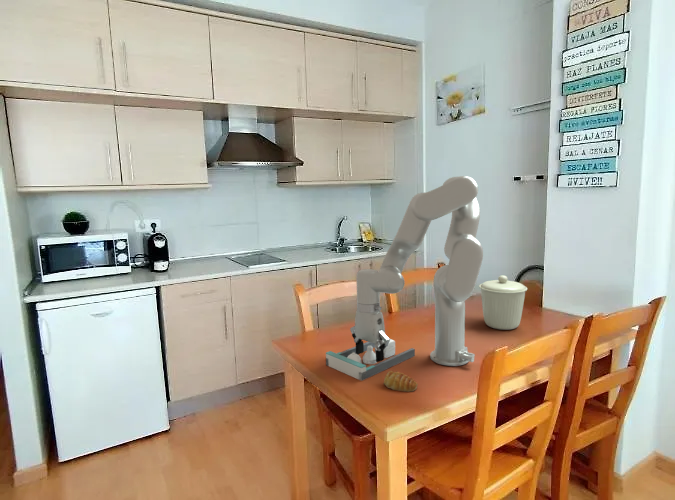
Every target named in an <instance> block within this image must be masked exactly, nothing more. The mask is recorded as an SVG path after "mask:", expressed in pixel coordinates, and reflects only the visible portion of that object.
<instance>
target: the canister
mask: <svg viewBox="0 0 675 500" xmlns="http://www.w3.org/2000/svg"><path fill="white" fill-rule="evenodd" d="M478 287H479V289H480V295H481V307H482V315H483V320H484V323H485V324H486V325H487V326H488V327H490V328H493V329H496V330H507V331H508V330H514V329H516V328H518V327H519V326H520V324H521V319H522V315H523V310H524V309H523V308H524V302H525V297H526V292H527V290H528V287H527V286H525V285H524V284H523V283H520V282H518V281H513V280H509V278H508V276H506V275H499V276H498V277H497V279H494V280H486V281H483V283H481V284H479V285H478Z"/></svg>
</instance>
